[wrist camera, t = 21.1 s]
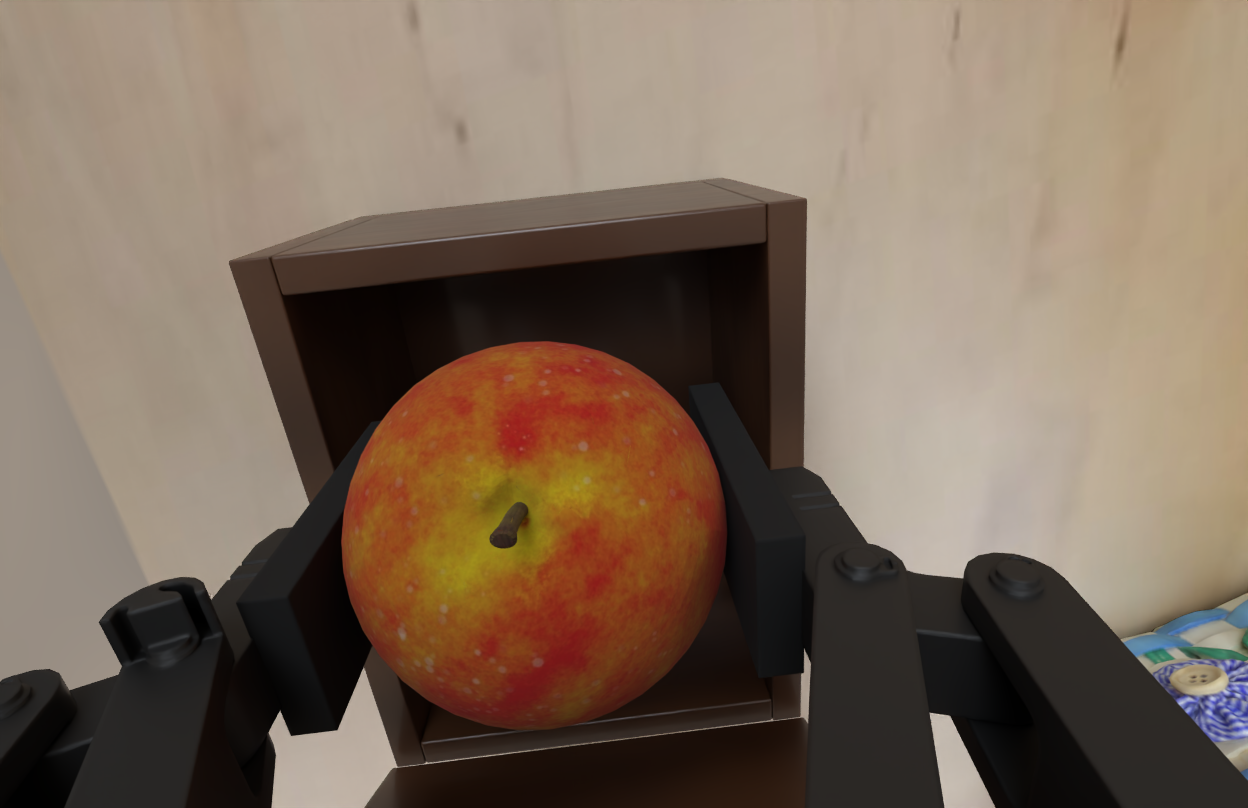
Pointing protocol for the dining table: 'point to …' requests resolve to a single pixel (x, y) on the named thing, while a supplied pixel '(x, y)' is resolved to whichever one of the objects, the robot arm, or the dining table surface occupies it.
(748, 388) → the chest
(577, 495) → the fruit
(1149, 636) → the basket
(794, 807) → the lid
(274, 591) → the robot arm
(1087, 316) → the dining table surface
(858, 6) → the dining table surface
